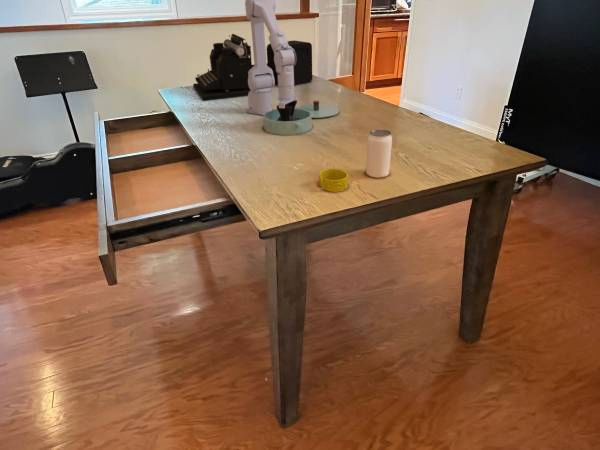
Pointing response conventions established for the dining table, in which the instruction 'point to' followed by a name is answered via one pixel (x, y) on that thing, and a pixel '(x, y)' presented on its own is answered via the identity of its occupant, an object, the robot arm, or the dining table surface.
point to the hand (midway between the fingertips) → (287, 122)
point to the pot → (287, 122)
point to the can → (379, 153)
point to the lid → (320, 109)
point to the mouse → (290, 118)
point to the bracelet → (333, 180)
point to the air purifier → (302, 62)
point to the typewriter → (226, 71)
